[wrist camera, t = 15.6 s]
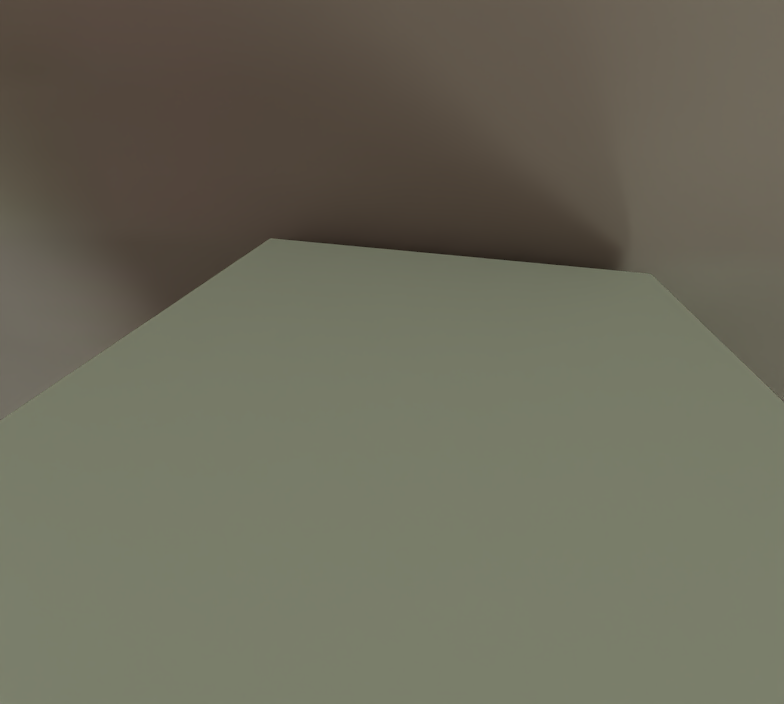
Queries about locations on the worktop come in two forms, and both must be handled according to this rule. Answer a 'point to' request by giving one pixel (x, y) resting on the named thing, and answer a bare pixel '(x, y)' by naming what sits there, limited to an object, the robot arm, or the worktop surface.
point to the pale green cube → (398, 496)
